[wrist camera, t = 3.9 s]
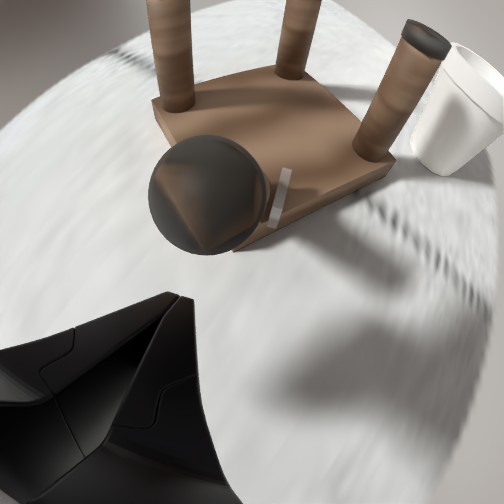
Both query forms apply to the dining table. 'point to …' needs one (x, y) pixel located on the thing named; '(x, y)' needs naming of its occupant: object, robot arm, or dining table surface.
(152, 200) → the hinged leg
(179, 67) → the stool
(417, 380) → the dining table surface
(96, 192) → the dining table surface
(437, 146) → the foam cup
